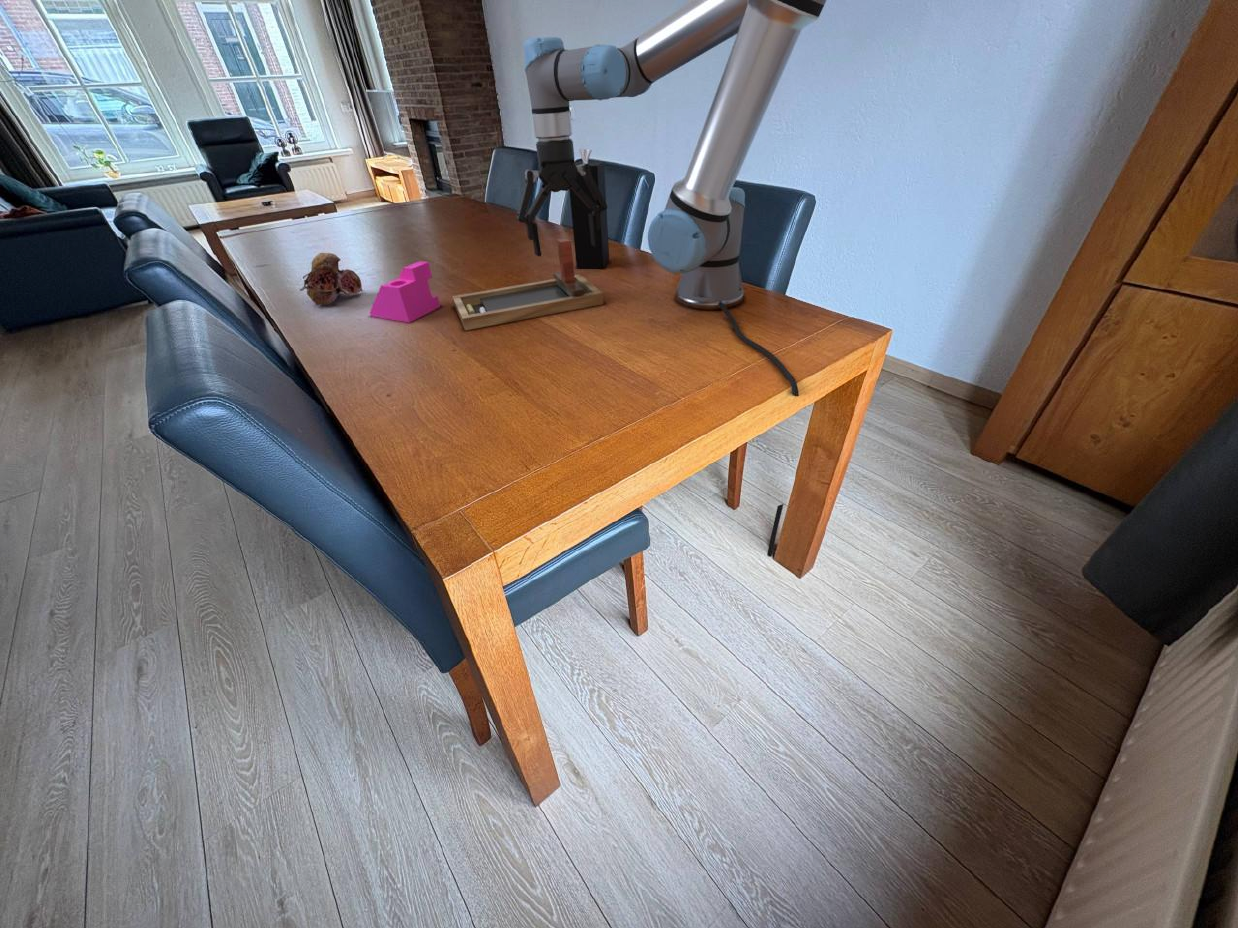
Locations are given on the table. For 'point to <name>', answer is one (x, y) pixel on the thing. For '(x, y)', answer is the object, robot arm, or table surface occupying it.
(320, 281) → the seed pod
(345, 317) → the table surface
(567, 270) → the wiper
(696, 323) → the table surface
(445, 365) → the table surface
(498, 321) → the slate
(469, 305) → the yellow chalk
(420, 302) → the bracket
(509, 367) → the table surface
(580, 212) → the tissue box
